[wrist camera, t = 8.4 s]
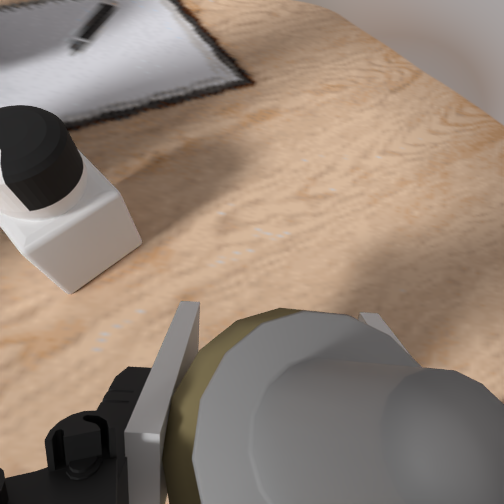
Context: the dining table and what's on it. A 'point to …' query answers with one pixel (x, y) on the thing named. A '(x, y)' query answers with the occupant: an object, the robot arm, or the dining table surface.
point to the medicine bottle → (58, 201)
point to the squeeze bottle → (328, 420)
